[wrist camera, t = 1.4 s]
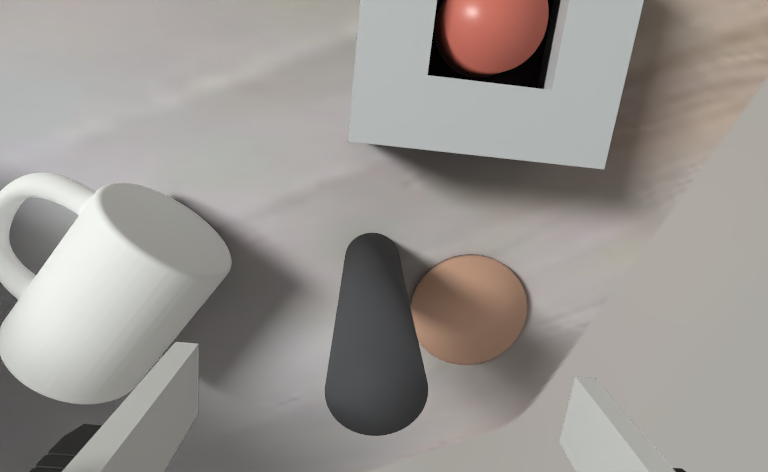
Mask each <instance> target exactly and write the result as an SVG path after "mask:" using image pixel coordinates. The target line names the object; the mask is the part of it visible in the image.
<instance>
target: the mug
mask: <svg viewBox="0 0 768 472" xmlns="http://www.w3.org/2000/svg"><path fill="white" fill-rule="evenodd" d="M31 197H36V198H43V199H47V200H50V201H53V202H55V203H58V204H60V205H62V206H64V207H66V208H68V209H70V210H72V211H74V212H75V213H77V214H78V218H77V219H76V220H75V222H74V223H73V225H72V226H71V227H70V229H69V230H68V232H67V233H66V234H65V236H64V237H63V239H62V240H61V241H60V243H59V244H58V246H57V247H56V248H55V250H54V251H53V253H52V254H51V255H50V257H49V258H48V260H47V261H46V262H45V264H44V265H43V267H42V268H41V269H40V271H39V272H38V274H37V275H35V274H33V273H32V272H31V271H30V270H29V269H28V268H26V267H25V266H24V265H23V264H22V263H21V262H20V260H19V259H18V258H17V257H16V255H15V254H14V252H13V250H12V248H11V246H10V241H9V232H10V227H11V224H12V221H13V218H14V216H15V214H16V212H17V210H18V208H19V207H20V205H21V204H22V203H23V202H24V201H25V200H26V199H27V198H31ZM231 265H232V260H231V255H230V252H229V250H228V248H227V246H226V244H225V242H224V241H223V240H222V238H221V237H220V236H219V234H218V233H217V232H216V231H215V230H214V229H213V228H212V227H211V226H210V225H209V224H208V223H207V222H206V221H205V220H204V219H202V218H201V217H200V216H199V215H197V214H196V213H195V212H193V211H192V210H191V209H189V208H188V207H186V206H185V205H183V204H181V203H180V202H178V201H176V200H174V199H172V198H171V197H169V196H166V195H164V194H162V193H160V192H158V191H155V190H152V189H150V188H147V187H143V186H140V185H135V184H130V183H111V184H107V185H105V186H102V187H101V188H99V189H98V190H97V191H96V192H95V191H94V190H92V189H90V188H89V187H87V186H85V185H83V184H81V183H79V182H77V181H75V180H73V179H70V178H68V177H65V176H62V175H58V174H53V173H33V174H28V175H25V176H22V177H20V178H18V179H16V180H14V181H12V182H11V183H9V184H8V185H7V186H6V187H4V188H3V189H2V190H1V191H0V282H1V283H2V285H3V286H4V287H5V288H6V289H7V290H8V291H9V292H10V293H11V294H12V295H13V296H15V297H16V298H17V299H18V302H17V303H16V304H15V306H14V307H13V309H12V310H11V311H10V313H9V314H8V316H7V317H6V318H5V320H4V321H3V323H2V325H1V327H0V356H1V359H2V361H3V362H4V364H5V366H6V367H7V369H8V370H9V371H10V372H11V373H12V374H13V376H15V377H16V378H17V379H18V380H19V381H20V382H21V383H23V384H24V385H26V386H27V387H29V388H30V389H32V390H34V391H35V392H37V393H39V394H42V395H44V396H46V397H49V398H52V399H55V400H58V401H62V402H67V403H73V404H99V403H105V402H109V401H113V400H115V399H118V398H120V397H122V396H124V395H126V394H127V393H129V392H130V391H131V390H133V389H134V388H135V387H136V386H137V385H138V383H139V382H140V381H141V380H142V378H143V377H144V376H145V375H146V374H147V372H148V371H149V370H150V369H151V367H152V366H153V365H154V364H155V363H156V361H157V360H158V359H159V358H160V356H161V355H162V354H163V353H164V352H165V350H166V349H167V348H168V347H169V345H170V344H171V343H172V342H173V341H174V339H175V338H176V337H177V336H178V334H179V333H180V332H181V331H182V330H183V328H184V327H185V326H186V325H187V323H188V322H189V321H190V320H191V319H192V317H193V316H194V315H195V314H196V312H197V311H198V310H199V309H200V308H201V306H202V305H203V304H204V303H205V301H206V300H207V299H208V298H209V297H210V295H211V294H212V293H213V292H214V290H215V289H216V288H217V287H218V286H219V284H220V283H221V282H222V281H223V279H224V278H225V277H226V276H227V275H228V273H229V271H230V269H231Z"/></svg>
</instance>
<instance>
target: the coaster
mask: <svg viewBox="0 0 768 472" xmlns="http://www.w3.org/2000/svg"><path fill="white" fill-rule="evenodd" d="M411 312H412V316H413V321H414V325H415V330H416V334H417V338H418V340H419V342H420V343H421V344H422V346H423V347H424V348H425V349H426V350H427V351H428V352H430V353H431V354H432V355H434V356H435V357H437V358H439V359H441V360H444V361H446V362H450V363H453V364H460V365H469V364H477V363H482V362H485V361H488V360H490V359H493V358H495V357H497V356H498V355H500V354H501V353H503V352H504V351H505V350H507V349H508V348H509V347H510V346H511V345H512V344H513V343H514V342H515V340H516V339H517V338H518V336H519V334H520V333H521V331H522V329H523V326H524V324H525V320H526V316H527V299H526V294H525V291H524V288H523V286H522V284H521V282H520V281H519V279H518V278H517V277H516V276H515V274H514V273H513V272H512V271H511V270H510V269H509V268H508V267H506V266H505V265H504V264H502V263H501V262H499V261H497V260H495V259H493V258H490V257H487V256H483V255H477V254H466V255H459V256H454V257H451V258H449V259H446V260H444V261H442V262H440V263H438V264H437V265H435V266H434V267H432V268H431V269H430V270H429V271H428V272H427V273H426V274H425V275H424V276H423V277H422V279H421V280H420V282H419V283H418V285H417V287H416V289H415V291H414V293H413V296H412V300H411Z"/></svg>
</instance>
